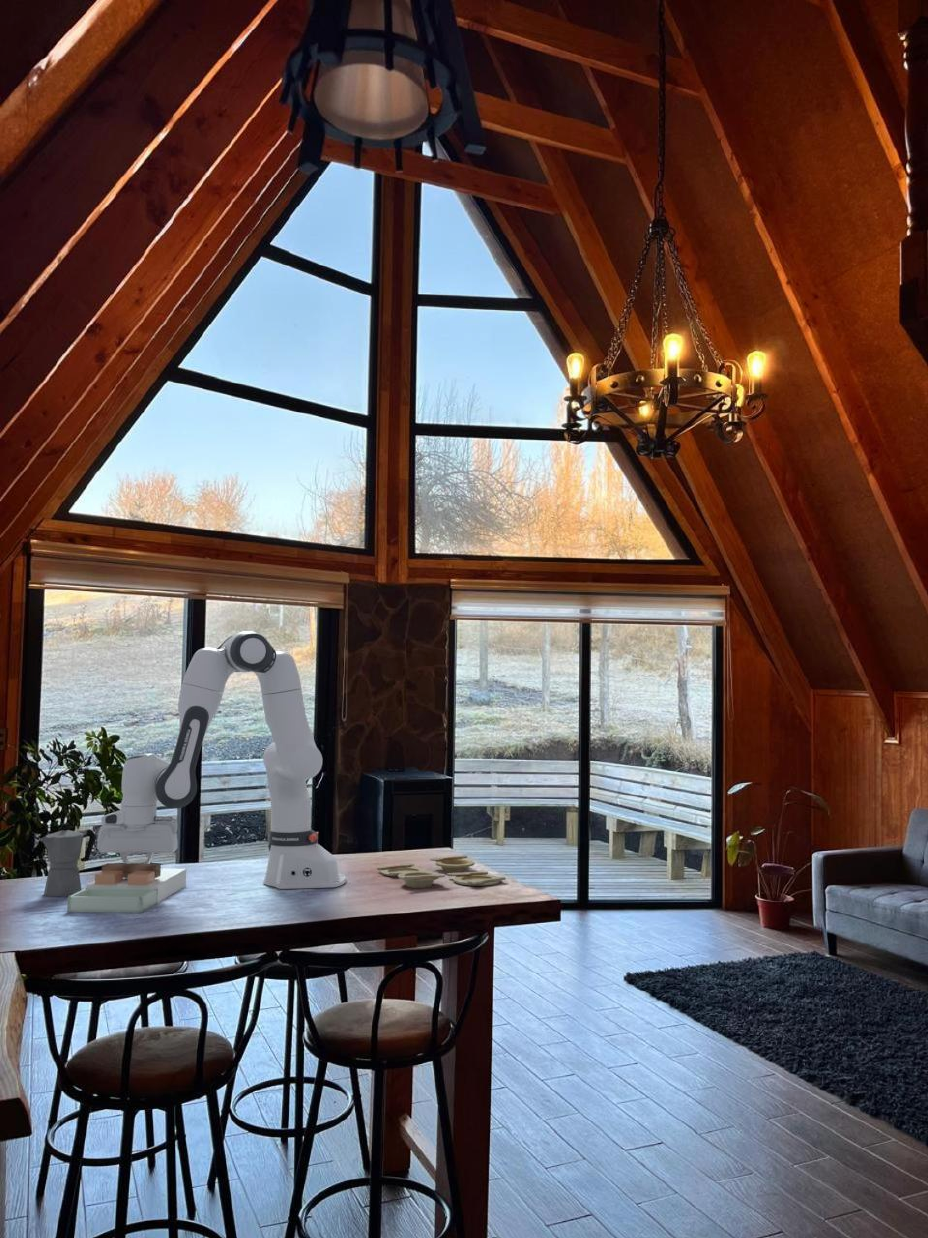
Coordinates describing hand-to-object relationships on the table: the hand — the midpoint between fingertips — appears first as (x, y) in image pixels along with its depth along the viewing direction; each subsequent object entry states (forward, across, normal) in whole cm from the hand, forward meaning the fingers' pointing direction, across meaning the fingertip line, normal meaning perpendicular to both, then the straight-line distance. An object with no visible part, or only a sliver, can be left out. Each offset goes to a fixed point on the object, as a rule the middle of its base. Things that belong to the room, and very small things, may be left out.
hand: (136, 870), depth 240 cm
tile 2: (+2, +4, +8) cm, 9 cm away
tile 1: (+2, -4, +8) cm, 9 cm away
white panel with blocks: (+6, 0, -1) cm, 6 cm away
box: (+6, 0, +15) cm, 16 cm away
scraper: (+1, 0, 0) cm, 1 cm away
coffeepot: (+6, +19, -1) cm, 20 cm away
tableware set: (+7, -77, -27) cm, 81 cm away
